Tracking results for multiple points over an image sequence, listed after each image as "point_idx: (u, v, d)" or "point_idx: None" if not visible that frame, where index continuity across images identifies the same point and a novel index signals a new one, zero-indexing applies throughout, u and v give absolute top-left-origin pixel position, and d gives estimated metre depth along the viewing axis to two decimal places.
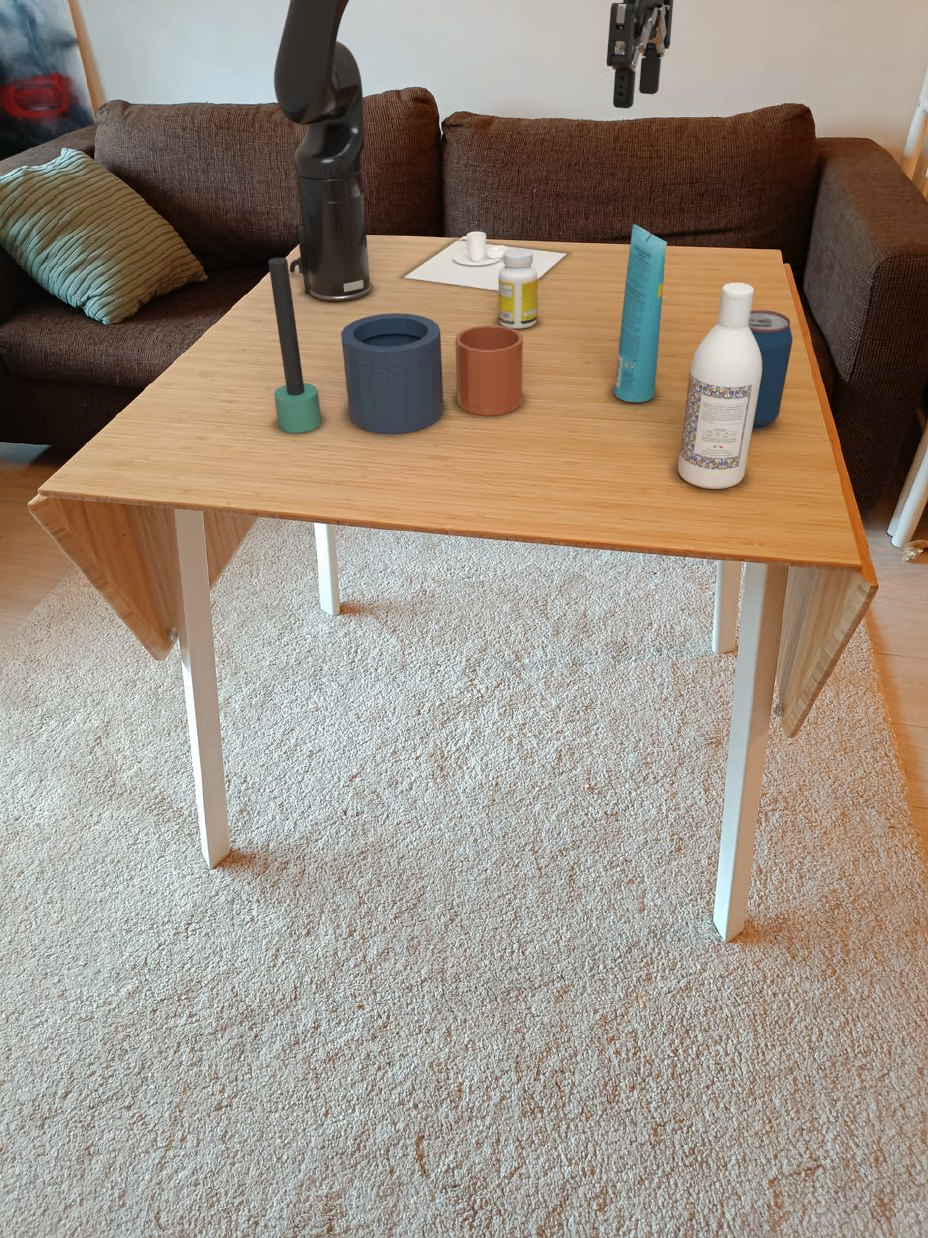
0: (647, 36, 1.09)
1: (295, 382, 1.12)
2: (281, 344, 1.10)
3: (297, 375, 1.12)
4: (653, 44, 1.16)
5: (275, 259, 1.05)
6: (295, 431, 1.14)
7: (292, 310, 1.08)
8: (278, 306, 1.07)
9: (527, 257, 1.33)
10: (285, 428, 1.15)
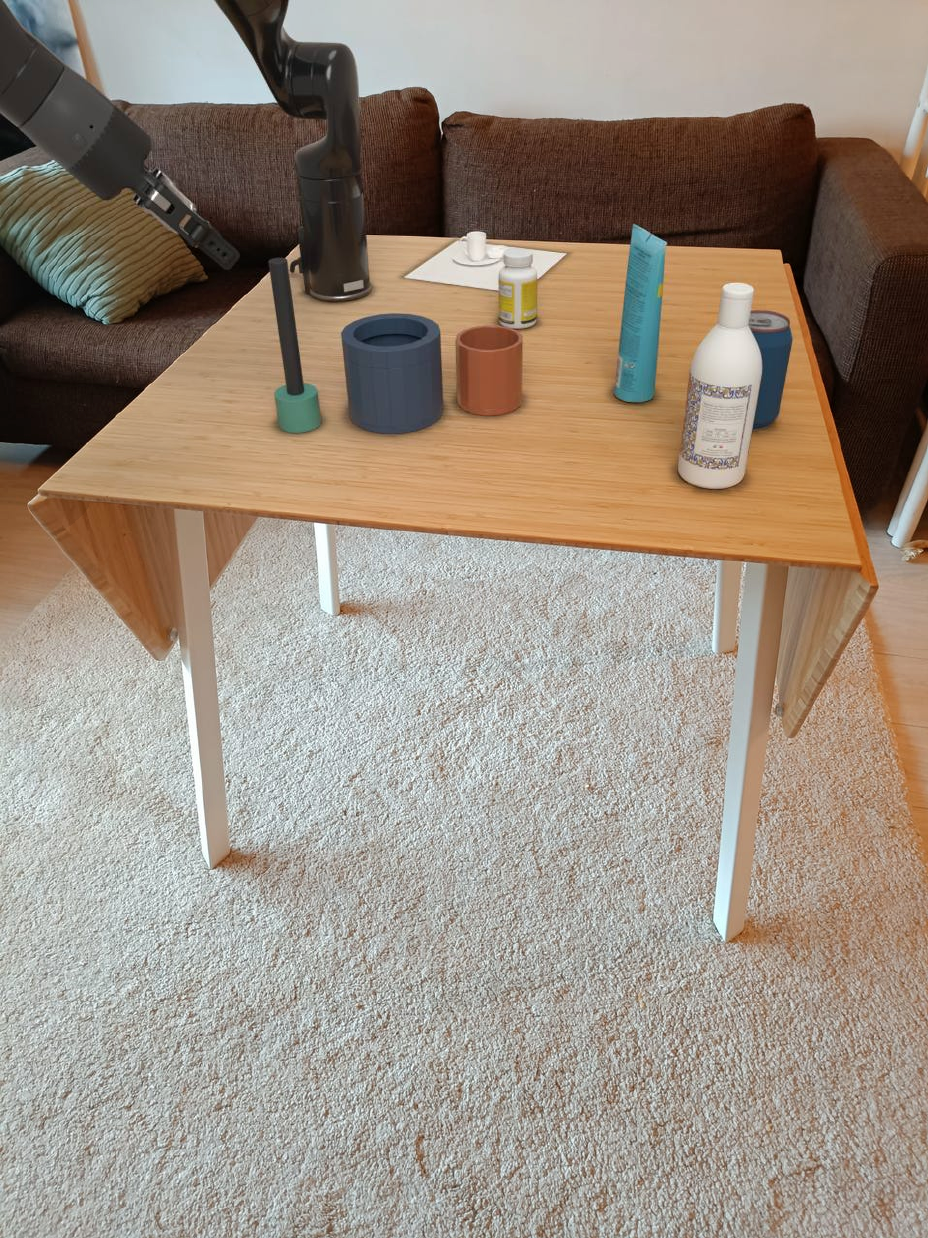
0: None
1: (295, 382, 1.12)
2: (281, 344, 1.10)
3: (297, 375, 1.12)
4: None
5: (275, 259, 1.05)
6: (295, 431, 1.14)
7: (292, 310, 1.08)
8: (278, 306, 1.07)
9: (527, 258, 1.33)
10: (285, 428, 1.15)
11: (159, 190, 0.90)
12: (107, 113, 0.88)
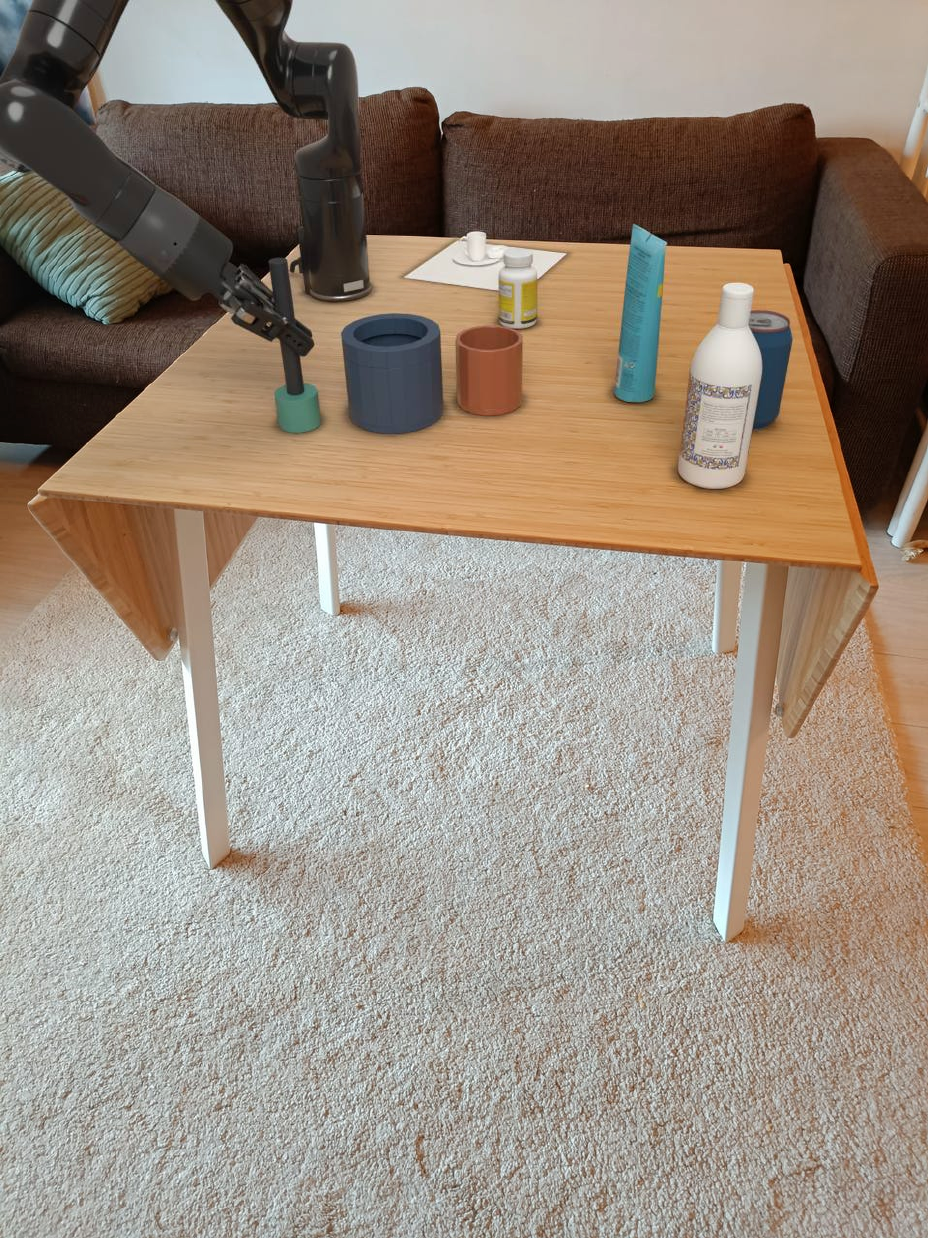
0: None
1: (295, 382, 1.12)
2: (281, 344, 1.10)
3: (297, 375, 1.12)
4: None
5: (275, 259, 1.05)
6: (295, 431, 1.14)
7: (292, 310, 1.08)
8: (278, 306, 1.07)
9: (527, 257, 1.33)
10: (285, 428, 1.15)
11: (247, 311, 1.01)
12: (190, 230, 0.99)
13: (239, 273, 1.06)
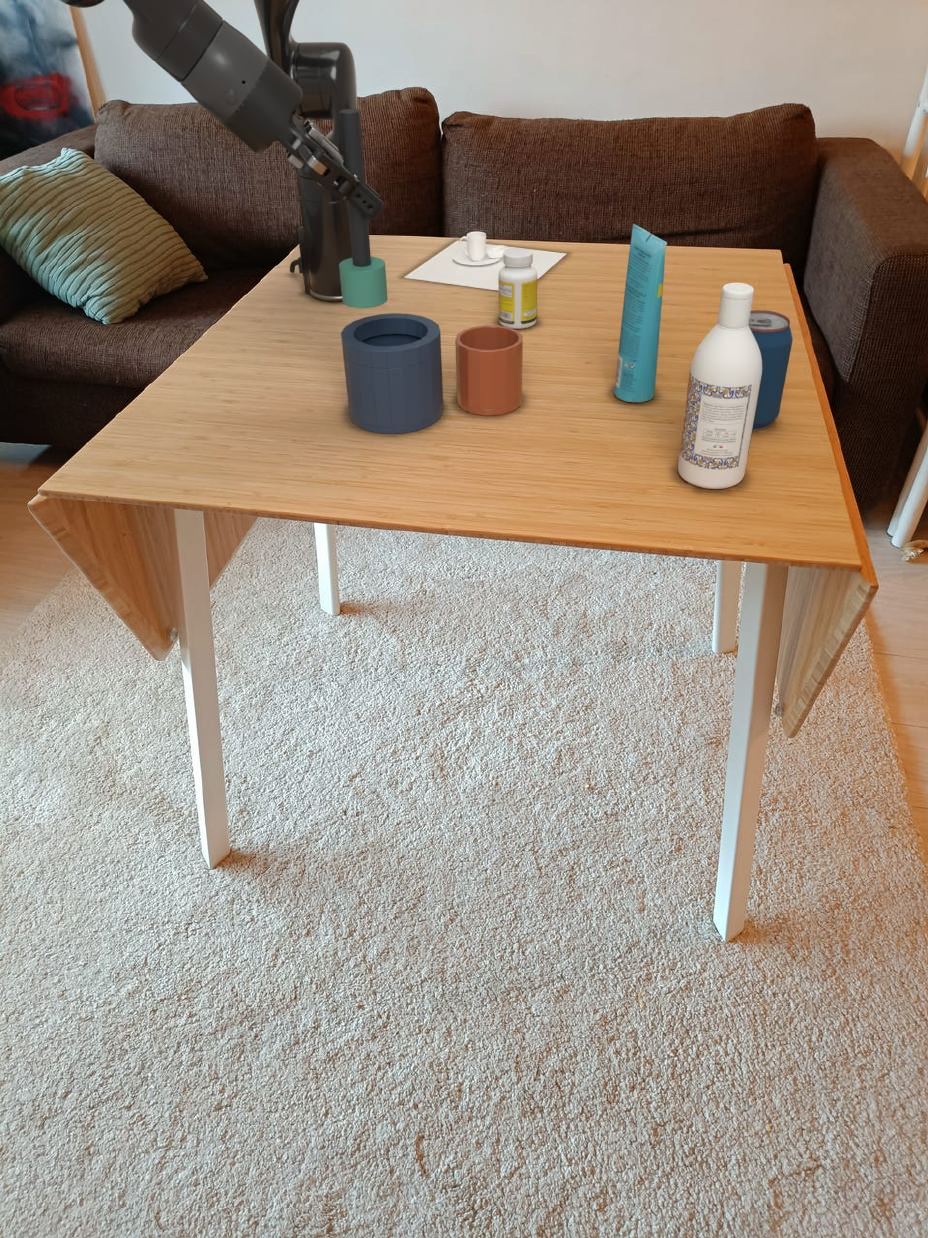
0: None
1: (362, 251, 1.05)
2: (349, 208, 1.03)
3: (365, 243, 1.05)
4: None
5: (346, 110, 0.98)
6: (361, 306, 1.07)
7: (362, 168, 1.01)
8: (348, 163, 1.00)
9: (527, 258, 1.33)
10: (350, 303, 1.07)
11: (319, 159, 0.94)
12: (259, 68, 0.92)
13: (307, 125, 0.98)
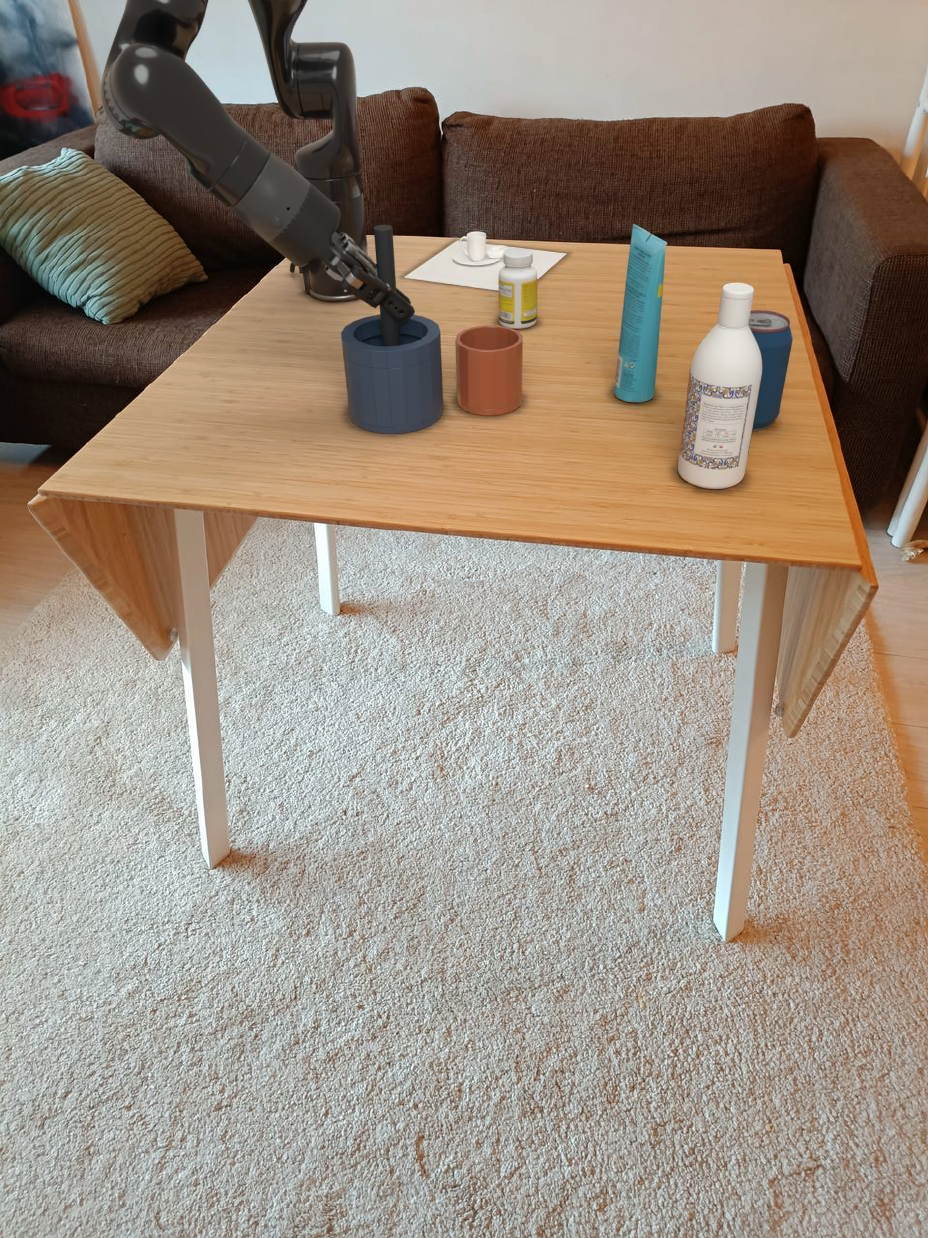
0: None
1: None
2: (381, 312, 1.11)
3: (395, 343, 1.13)
4: None
5: (380, 226, 1.06)
6: None
7: (394, 277, 1.09)
8: (381, 273, 1.08)
9: (527, 257, 1.33)
10: None
11: (357, 276, 1.02)
12: (302, 195, 1.00)
13: (344, 240, 1.06)
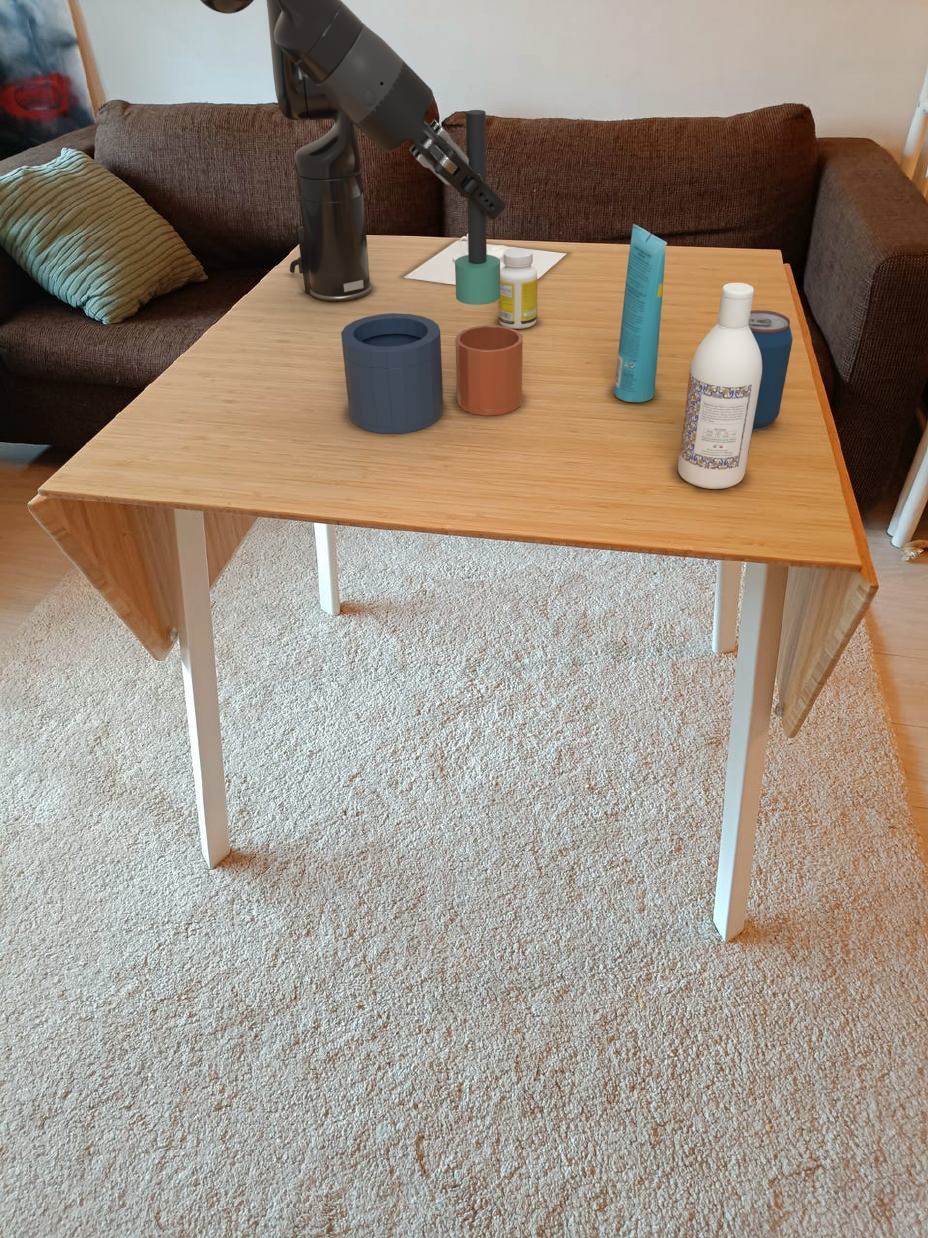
0: None
1: (479, 248, 1.08)
2: (469, 206, 1.05)
3: (482, 241, 1.07)
4: None
5: (472, 110, 1.00)
6: (476, 303, 1.10)
7: (485, 168, 1.03)
8: (472, 162, 1.02)
9: (527, 258, 1.33)
10: (465, 299, 1.10)
11: (451, 158, 0.96)
12: (396, 70, 0.94)
13: (434, 126, 1.01)
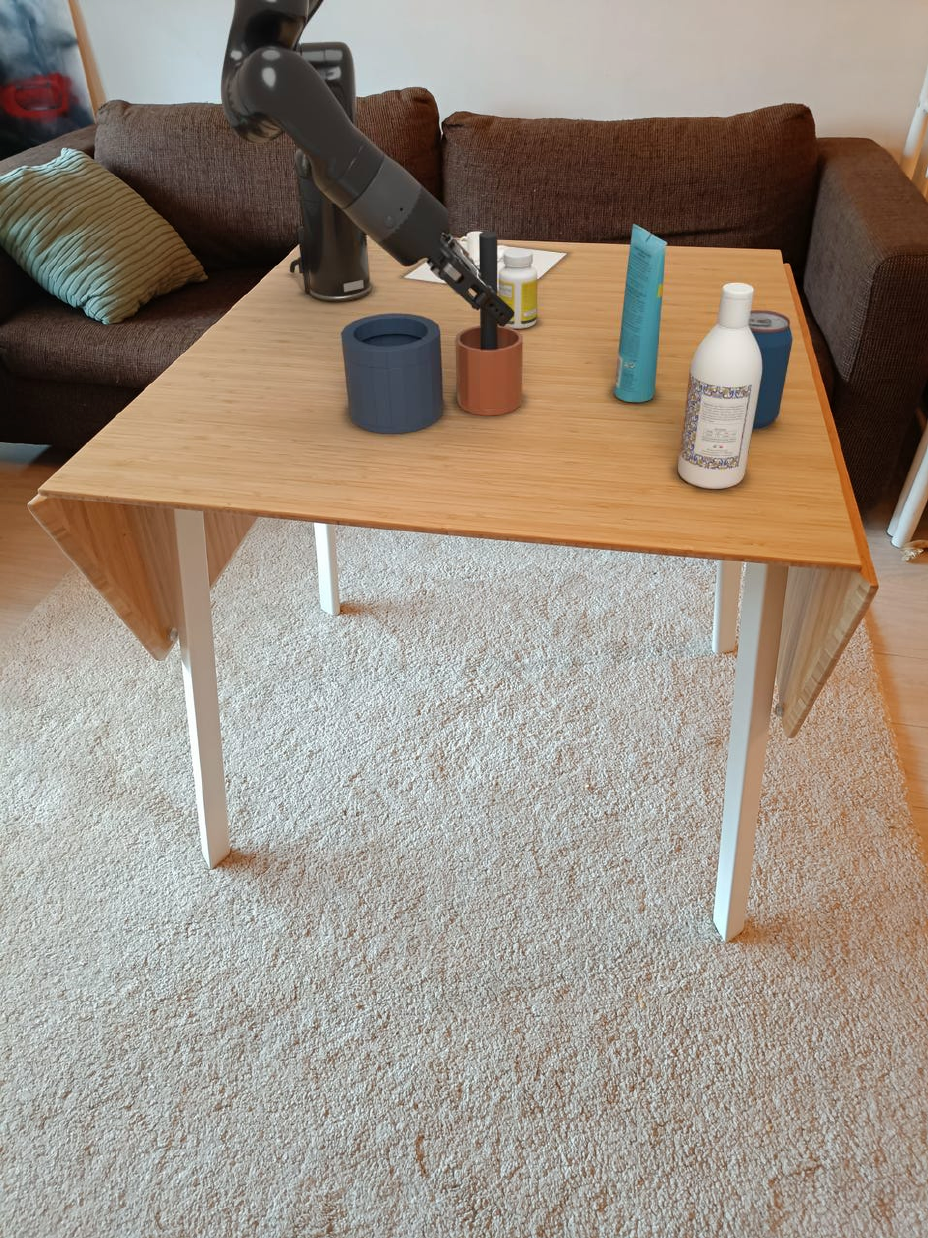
0: None
1: None
2: (482, 317, 1.13)
3: (494, 347, 1.15)
4: None
5: (485, 233, 1.08)
6: None
7: (496, 283, 1.11)
8: (484, 279, 1.10)
9: (527, 257, 1.33)
10: None
11: (452, 264, 1.02)
12: (415, 196, 1.01)
13: (449, 240, 1.08)
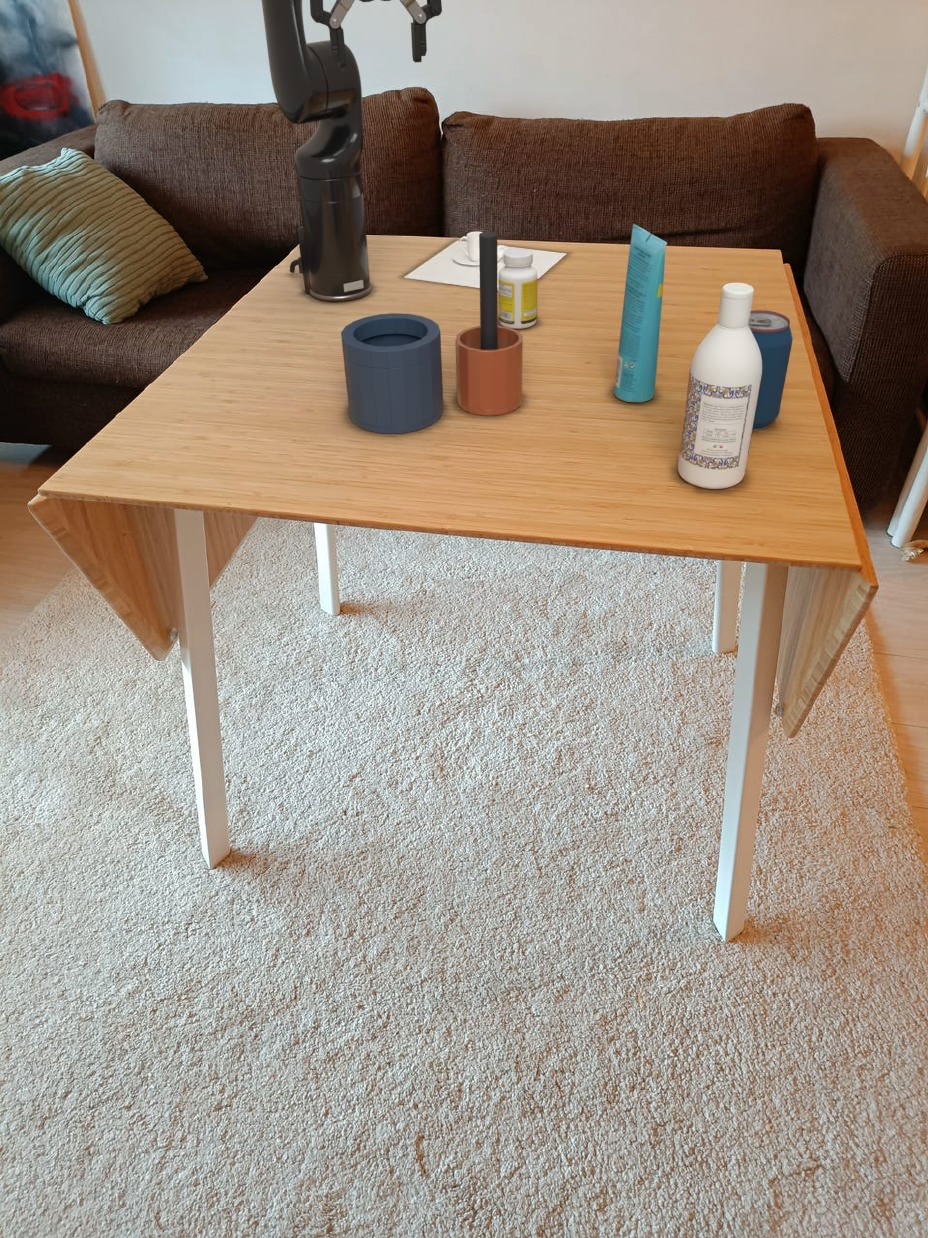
0: None
1: None
2: (482, 317, 1.13)
3: (494, 347, 1.15)
4: None
5: (485, 233, 1.08)
6: None
7: (496, 283, 1.11)
8: (484, 279, 1.10)
9: (527, 257, 1.33)
10: None
11: None
12: None
13: None
